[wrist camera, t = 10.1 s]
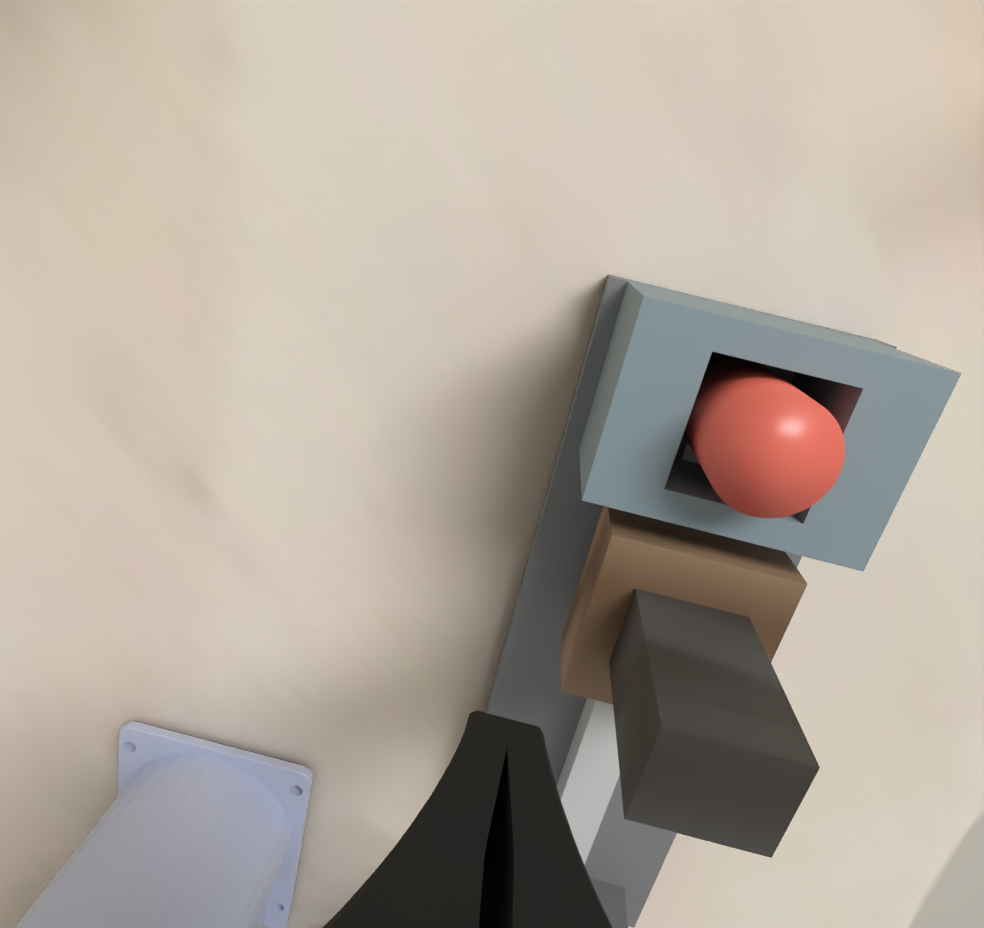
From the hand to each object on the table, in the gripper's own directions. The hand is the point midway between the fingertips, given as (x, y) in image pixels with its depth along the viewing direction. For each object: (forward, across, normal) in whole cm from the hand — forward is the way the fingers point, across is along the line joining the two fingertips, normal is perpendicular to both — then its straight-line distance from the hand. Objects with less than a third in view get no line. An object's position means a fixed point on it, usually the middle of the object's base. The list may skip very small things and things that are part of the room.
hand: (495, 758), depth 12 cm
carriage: (+8, -4, 0) cm, 9 cm away
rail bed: (+10, -4, +3) cm, 12 cm away
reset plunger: (+8, -4, -6) cm, 11 cm away
